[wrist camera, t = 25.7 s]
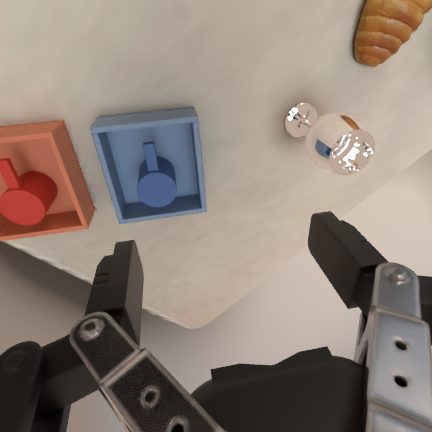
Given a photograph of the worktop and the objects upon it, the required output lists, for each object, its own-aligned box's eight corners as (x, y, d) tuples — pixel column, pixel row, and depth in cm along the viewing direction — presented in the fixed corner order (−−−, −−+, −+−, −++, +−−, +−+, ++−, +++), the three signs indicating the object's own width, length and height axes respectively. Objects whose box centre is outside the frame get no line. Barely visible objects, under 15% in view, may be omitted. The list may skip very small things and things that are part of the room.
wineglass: (273, 135, 38) (313, 173, 28) (291, 91, 35) (342, 115, 26) (309, 146, 40) (359, 185, 30) (330, 104, 37) (392, 132, 27)
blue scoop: (177, 186, 39) (179, 204, 35) (143, 190, 39) (141, 210, 35) (168, 129, 35) (169, 142, 31) (130, 133, 34) (126, 147, 30)
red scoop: (63, 201, 38) (51, 222, 34) (26, 205, 37) (9, 228, 33) (39, 143, 33) (22, 159, 29) (-3, 148, 33) (-27, 165, 29)
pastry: (380, 72, 36) (401, 76, 33) (336, 54, 34) (354, 56, 31) (430, -19, 31) (460, -24, 28) (382, -46, 30) (409, -55, 26)
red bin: (-42, 131, 32) (-69, 145, 28) (63, 120, 33) (51, 132, 29) (9, 221, 39) (-7, 242, 35) (95, 209, 40) (88, 228, 36)
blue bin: (97, 116, 33) (89, 128, 30) (193, 106, 35) (197, 116, 31) (123, 205, 40) (119, 224, 36) (202, 194, 41) (206, 211, 38)
